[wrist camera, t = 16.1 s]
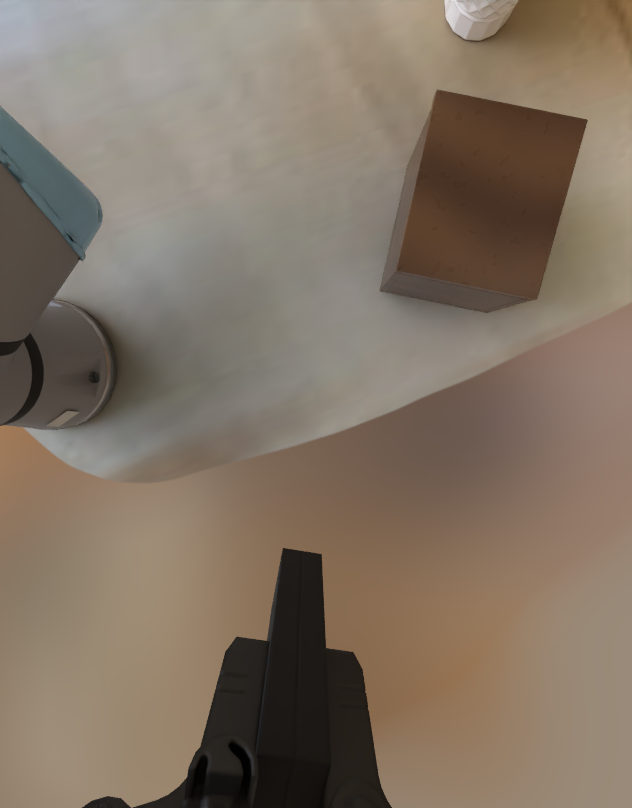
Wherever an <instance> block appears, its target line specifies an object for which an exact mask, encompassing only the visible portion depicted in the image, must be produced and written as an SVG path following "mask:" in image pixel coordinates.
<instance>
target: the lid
mask: <svg viewBox="0 0 632 808" xmlns="http://www.w3.org/2000/svg"><path fill="white" fill-rule="evenodd" d="M587 121H588V120H586V119H581V118H576V117H571V116H566V115H561V114H556V113H552V112H547V111H542V110H537V109H532V108H527V107H522V106H517V105H512V104H507V103H502V102H497V101H492V100H487V99H482V98H477V97H472V96H467V95H462V94H457V93H452V92H447V91H442V90H437V91H436V93H435V96H434V99H433V104H432V108H431V112H430V117H429V121H428V126H427V130H426V134H425V139H424V143H423V148H422V152H421V157H420V161H419V165H418V170H417V174H416V179H415V183H414V188H413V192H412V196H411V201H410V205H409V210H408V214H407V219H406V223H405V227H404V232H403V236H402V241H401V245H400V250H399V254H398V258H397V263H396V267H395V273H400V274H405V275H410V276H415V277H420V278H425V279H430V280H435V281H439V282H444V283H449V284H454V285H459V286H464V287H469V288H474V289H479V290H483V291H488V292H493V293H498V294H503V295H508V296H513V297H518V298H523V299H527V300H535V299H537V297H538V294H539V290H540V287H541V283H542V279H543V276H544V272H545V269H546V265H547V262H548V258H549V255H550V251H551V248H552V244H553V241H554V237H555V234H556V230H557V227H558V223H559V219H560V216H561V212H562V209H563V205H564V202H565V198H566V195H567V191H568V188H569V184H570V181H571V177H572V174H573V170H574V167H575V163H576V159H577V156H578V152H579V149H580V145H581V142H582V138H583V135H584V131H585V128H586V124H587Z"/></svg>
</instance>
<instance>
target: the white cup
mask: <svg viewBox="0 0 632 808" xmlns="http://www.w3.org/2000/svg"><path fill="white" fill-rule="evenodd" d="M518 1H519V0H445V15H446V19H447V21H448V23H449V25H450V27H451V29H452V30H453V32H454V33H456V34H457V35H459V36H460V37H462V38H464V39H465V40H475V41H481V40H483V39H485V38H488V37H490V36H492V35H494V34H495V33H496V32H497V31H498V30H499V29H500V28H501V27H502V26H503V25H504V24H505V22H506V21H507V19H508V18H509V16H510V14H511V12H512V11H513V9H514V7H515V5H516V4H517V2H518Z"/></svg>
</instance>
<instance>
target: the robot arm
mask: <svg viewBox="0 0 632 808" xmlns="http://www.w3.org/2000/svg"><path fill="white" fill-rule="evenodd" d="M102 217H103V214H102V209H101V206H100V203H99V201H98V199H97V198H96V196H95V195H94V194H93V193H92V192H91V191H90V190H89V189H88V188H87V187H86V186H85V185H84V184H83V183H82V182H81V181H80V180H79V179H78V178H77V177H76V176H75V175H74V174H73V173H72V172H70V171H69V170H68V169H67V168H66V167H65V166H64V165H63V164H62V163H61V162H60V161H59V160H58V159H57V158H56V157H55V156H53V155H52V154H51V153H50V152H49V151H48V150H47V149H46V148H45V147H44V146H43V145H42V144H41V143H39V142H38V141H37V140H36V139H35V138H34V137H33V136H32V135H31V134H30V133H29V132H28V131H27V130H25V129H24V128H23V127H22V126H21V125H20V124H19V123H18V122H17V121H16V120H15V119H14V118H12V117H11V116H10V115H9V114H8V113H7V112H6V111H5V110H4V109H3V108H2V107H0V426H1V425H9V426H17V427H27V428H35V429H41V430H57V429H63V428H67V427H71V426H75V425H78V424H81V423H83V422H85V421H87V420H89V419H91V418H92V417H94V416H95V415H96V414H97V413H98V412H100V411H101V410H102V408H103V407H104V406H105V405H106V403H107V402H108V400H109V398H110V396H111V394H112V391H113V388H114V385H115V380H116V360H115V355H114V351H113V348H112V345H111V343H110V340H109V338H108V336H107V335H106V333H105V331H104V330H103V329H102V327H101V326H100V325H99V323H98V322H97V321H96V320H95V319H94V318H93V317H91V316H90V315H89V314H88V313H86V312H85V311H84V310H82V309H80V308H79V307H77V306H75V305H73V304H70V303H67V302H64V301H60V300H55V299H53V298H54V296H55V295H56V293H57V292H58V291H59V289H60V288H61V286H62V285H63V283H64V282H65V280H66V279H67V277H68V276H69V274H70V273H71V271H72V270H73V268H74V267H75V266H76V264H77V263H78V261H79V260H82V261H83V260H84V258H85V256H86V255H85V251H86V249H87V247H88V246H89V244H90V242H91V241H92V239H93V237H94V236H95V234H96V232H97V231H98V229H99V227H100V225H101V223H102ZM371 730H372V729H371V723H370V716H369V711H368V703H367V696H366V693H365V683H364V676H363V670H362V668H361V666H360V664H359V662H358V660H357V658H356V657H355V655H354V653H353V652H349V651H342V650H335V649H328V648H326V640H325V620H324V597H323V576H322V555H321V554H317V553H311V552H304V551H298V550H292V549H285V548H283V551H282V556H281V562H280V567H279V572H278V577H277V583H276V588H275V593H274V599H273V604H272V610H271V616H270V624H269V631H268V638H267V641H263V640H256V639H248V638H242V637H236V638H235V640H234V641H233V642H232V644H231V645H230V646H229V648H228V649H227V650H226V652H225V656H224V659H223V663H222V667H221V671H220V675H219V678H218V682H217V686H216V690H215V693H214V698H213V702H212V705H211V709H210V713H209V716H208V720H207V724H206V728H205V731H204V735H203V739H202V743H201V747H200V748H199V749H198V750H197V751H196V753H195V755H194V757H193V760H192V762H191V764H190V766H189V769H188V776H187V778H186V779H185V781H184V782H183V783H182V784H181V785H180V786H179V787H178V788H177V789H175V790H174V791H173V792H171V793H170V794H169V795H167V796H165V797H163V798H160V799H158V800H156V801H153V802H149V803H146V804H143V805H140V806H137V807H133V808H392V807H391V806H390V804H389V802H388V801H387V799H386V797H385V795H384V792H383V790H382V788H381V784H380V780H379V776H378V769H377V763H376V756H375V749H374V743H373V736H372V731H371ZM82 808H131V807H130V806H129V805H127V804H126V803H125V802H124V801H123V800H122V799H121V798H115V797H109V796H107V797H103V798H100V799H97V800H93V801H91V802H90V803H88V804H87V805H85V806H84V807H82Z"/></svg>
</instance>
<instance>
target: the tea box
mask: <svg viewBox="0 0 632 808" xmlns="http://www.w3.org/2000/svg"><path fill="white" fill-rule="evenodd" d="M430 112H431V111H430ZM429 117H430V113H429V115H428V118H427V120H426V123H425V125H424V127H423V130H422V132H421V135H420V137H419V139H418V142H417V144H416V147H415V149H414V152H413V154H412V156H411V159H410V161H409V164H408V166H407V171H406V175H405V180H404V184H403V189H402V193H401V198H400V202H399V207H398V211H397V216H396V220H395V225H394V229H393V234H392V238H391V243H390V247H389V252H388V256H387V261H386V265H385V270H384V274H383V279H382V283H381V288H380V291H382V292H387V293H392V294H397V295H402V296H407V297H412V298H417V299H421V300H426V301H431V302H436V303H441V304H446V305H451V306H456V307H460V308H465V309H470V310H475V311H480V312H485V313H488V312H491V311H495V310H499V309H502V308H506V307H509V306H513V305H516V304H520V303H524V302H527V301H531V300H527V299H523V298H518V297H513V296H508V295H503V294H498V293H493V292H488V291H483V290H479V289H474V288H469V287H464V286H459V285H454V284H449V283H444V282H439V281H435V280H430V279H425V278H420V277H415V276H410V275H405V274H400V273H395V267H396V263H397V258H398V254H399V250H400V245H401V241H402V236H403V232H404V227H405V223H406V219H407V214H408V210H409V205H410V201H411V196H412V192H413V188H414V183H415V179H416V174H417V170H418V165H419V161H420V157H421V152H422V148H423V143H424V139H425V134H426V130H427V126H428V121H429Z"/></svg>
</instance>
